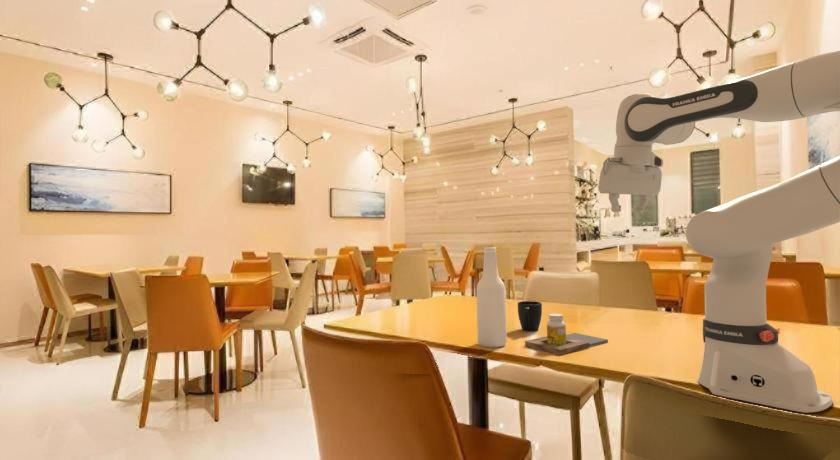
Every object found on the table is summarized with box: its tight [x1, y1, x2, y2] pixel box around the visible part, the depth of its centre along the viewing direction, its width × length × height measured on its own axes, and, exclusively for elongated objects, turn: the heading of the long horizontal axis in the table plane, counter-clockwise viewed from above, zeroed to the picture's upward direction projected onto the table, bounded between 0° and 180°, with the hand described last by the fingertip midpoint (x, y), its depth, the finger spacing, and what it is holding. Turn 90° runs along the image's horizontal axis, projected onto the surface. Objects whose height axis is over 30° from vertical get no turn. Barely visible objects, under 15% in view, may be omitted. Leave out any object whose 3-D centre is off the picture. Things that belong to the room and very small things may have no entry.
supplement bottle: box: [546, 313, 567, 346], centre depth 135 cm, size 5×5×10 cm
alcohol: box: [476, 246, 508, 349], centre depth 140 cm, size 9×9×30 cm
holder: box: [524, 335, 590, 356], centre depth 135 cm, size 13×13×2 cm
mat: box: [566, 332, 609, 348], centre depth 142 cm, size 12×9×1 cm
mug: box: [517, 300, 543, 333], centre depth 157 cm, size 8×12×10 cm
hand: (628, 212), depth 119 cm, fingers open, 8 cm apart
